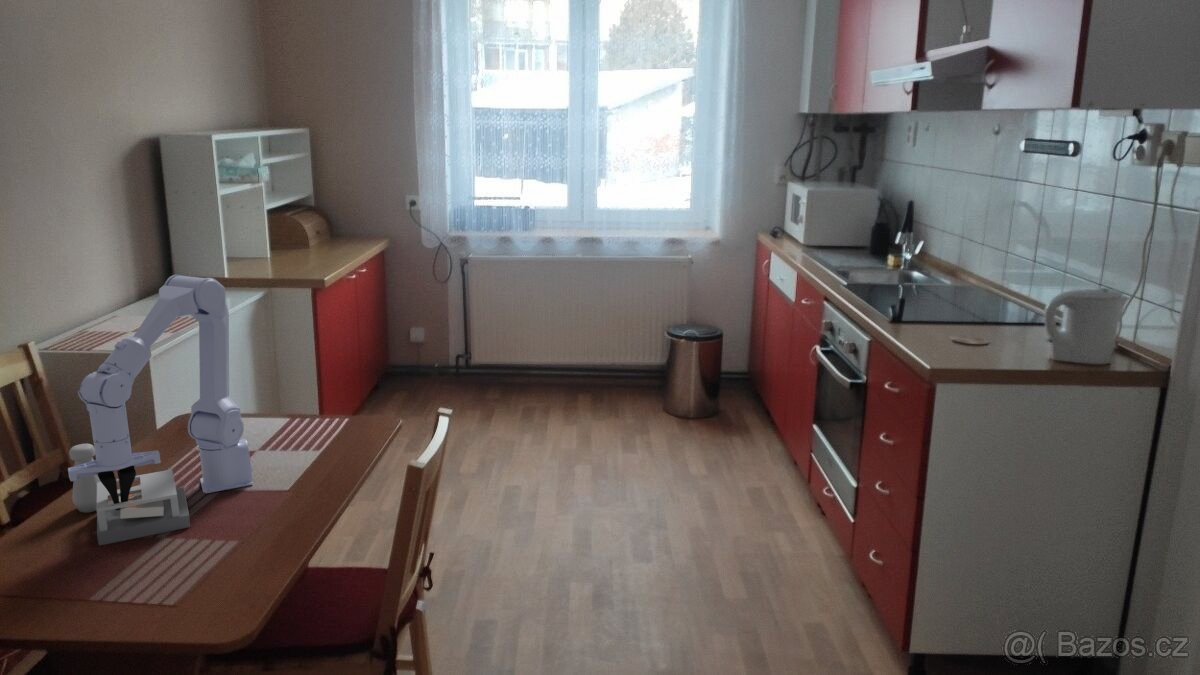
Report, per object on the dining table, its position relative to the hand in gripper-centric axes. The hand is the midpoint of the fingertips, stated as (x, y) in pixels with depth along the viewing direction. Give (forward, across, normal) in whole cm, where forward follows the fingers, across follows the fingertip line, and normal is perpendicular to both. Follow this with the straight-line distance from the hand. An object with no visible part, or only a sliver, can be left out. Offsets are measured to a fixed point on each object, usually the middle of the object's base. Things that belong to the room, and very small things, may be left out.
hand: (121, 507), depth 162 cm
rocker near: (+1, -3, 0) cm, 3 cm away
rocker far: (+1, -4, -6) cm, 7 cm away
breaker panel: (+5, -4, -3) cm, 7 cm away
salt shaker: (+5, +3, -15) cm, 16 cm away
